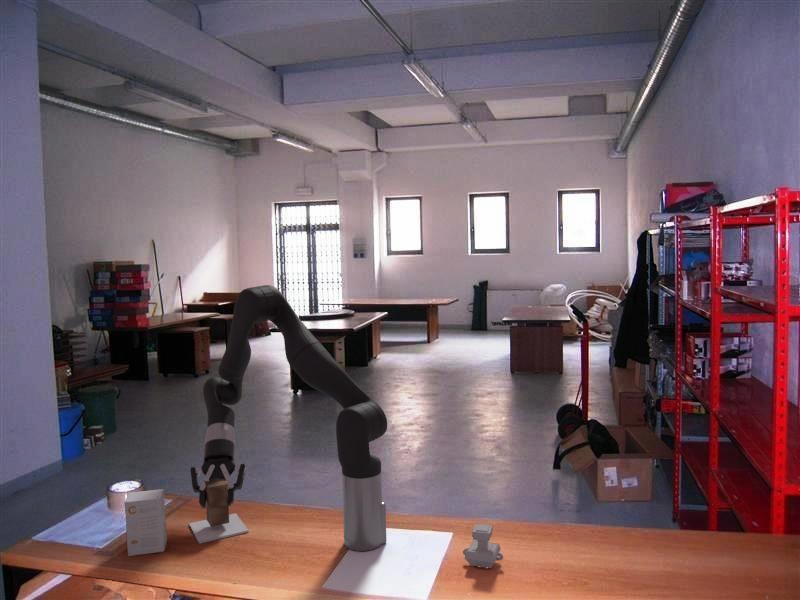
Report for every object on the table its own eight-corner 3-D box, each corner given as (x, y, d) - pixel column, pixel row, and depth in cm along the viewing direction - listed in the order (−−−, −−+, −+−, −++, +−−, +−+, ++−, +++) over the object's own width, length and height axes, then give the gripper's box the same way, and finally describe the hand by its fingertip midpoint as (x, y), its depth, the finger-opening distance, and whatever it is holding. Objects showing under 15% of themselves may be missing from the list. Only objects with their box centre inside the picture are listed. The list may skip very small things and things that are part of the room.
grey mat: (235, 515, 173) (235, 513, 173) (248, 532, 163) (248, 530, 163) (189, 525, 167) (188, 523, 167) (199, 543, 157) (199, 541, 157)
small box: (167, 540, 159) (164, 488, 158) (164, 552, 153) (161, 498, 152) (131, 544, 157) (128, 492, 156) (127, 557, 151) (124, 502, 150)
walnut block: (224, 516, 168) (223, 478, 167) (229, 522, 164) (227, 483, 163) (206, 520, 166) (205, 481, 165) (211, 526, 162) (209, 487, 161)
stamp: (505, 560, 146) (505, 523, 145) (500, 574, 140) (500, 536, 139) (466, 554, 149) (465, 518, 148) (459, 568, 142) (458, 531, 142)
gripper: (189, 439, 169) (183, 502, 159) (246, 435, 172) (244, 497, 161) (193, 452, 175) (188, 514, 165) (248, 449, 177) (247, 509, 167)
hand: (216, 505), depth 163 cm, fingers closed on walnut block, 5 cm apart
